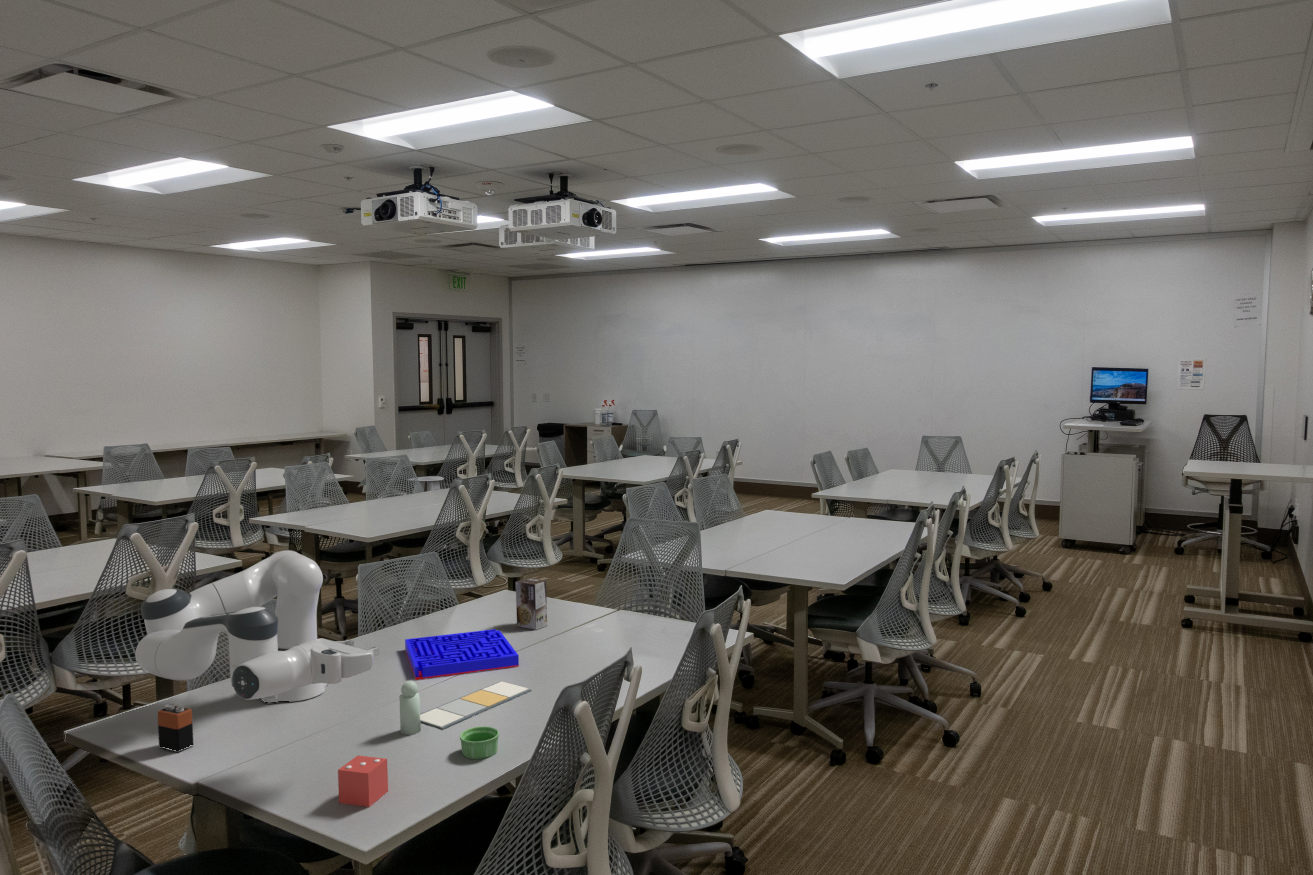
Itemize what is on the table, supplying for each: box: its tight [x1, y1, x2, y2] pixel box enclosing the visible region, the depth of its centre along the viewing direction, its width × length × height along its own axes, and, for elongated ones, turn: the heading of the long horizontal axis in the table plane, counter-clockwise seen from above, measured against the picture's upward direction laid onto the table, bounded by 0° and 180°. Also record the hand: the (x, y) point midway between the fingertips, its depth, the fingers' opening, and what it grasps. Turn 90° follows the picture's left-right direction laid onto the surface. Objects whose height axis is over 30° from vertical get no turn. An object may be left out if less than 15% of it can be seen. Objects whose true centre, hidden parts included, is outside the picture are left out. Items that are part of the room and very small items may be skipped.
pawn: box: [399, 680, 422, 736], centre depth 215 cm, size 5×5×12 cm
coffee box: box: [515, 577, 548, 631], centre depth 305 cm, size 9×6×16 cm
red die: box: [337, 755, 389, 808], centre depth 181 cm, size 7×7×7 cm
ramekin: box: [459, 726, 500, 760], centre depth 203 cm, size 9×9×4 cm
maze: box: [404, 628, 520, 681], centre depth 271 cm, size 30×30×4 cm
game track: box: [420, 681, 532, 730], centre depth 232 cm, size 12×32×1 cm, turn 145°
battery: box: [157, 703, 194, 751], centre depth 207 cm, size 4×7×10 cm, turn 66°
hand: (364, 646), depth 203 cm, fingers open, 8 cm apart
